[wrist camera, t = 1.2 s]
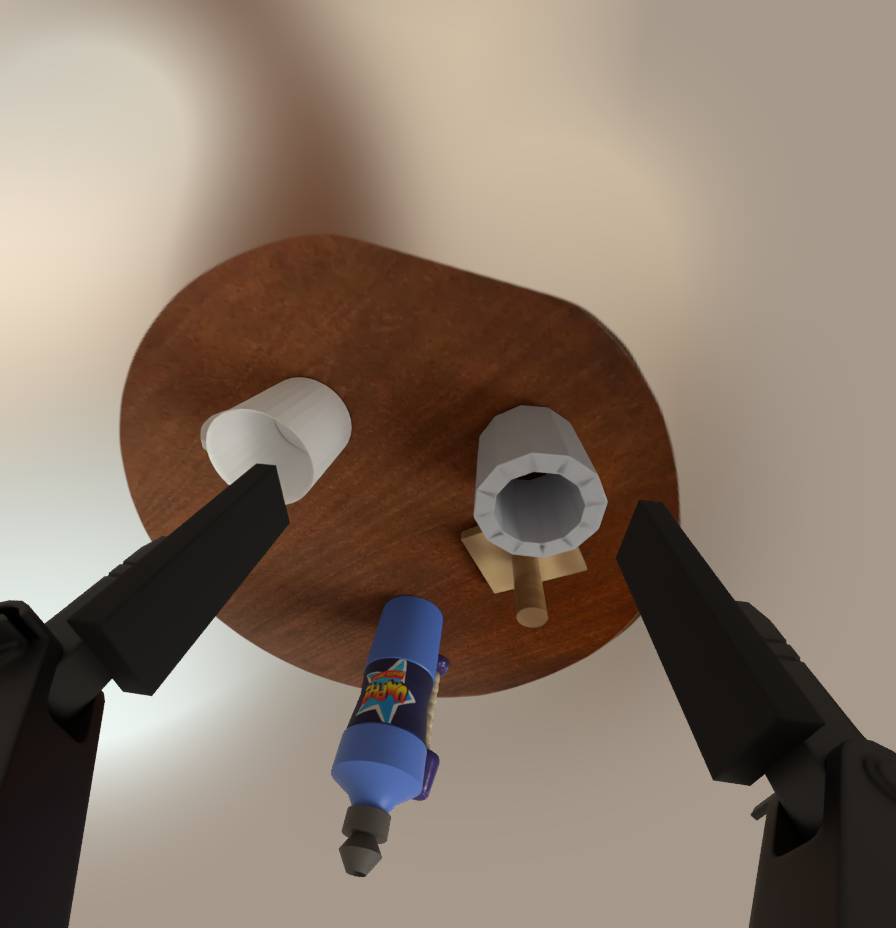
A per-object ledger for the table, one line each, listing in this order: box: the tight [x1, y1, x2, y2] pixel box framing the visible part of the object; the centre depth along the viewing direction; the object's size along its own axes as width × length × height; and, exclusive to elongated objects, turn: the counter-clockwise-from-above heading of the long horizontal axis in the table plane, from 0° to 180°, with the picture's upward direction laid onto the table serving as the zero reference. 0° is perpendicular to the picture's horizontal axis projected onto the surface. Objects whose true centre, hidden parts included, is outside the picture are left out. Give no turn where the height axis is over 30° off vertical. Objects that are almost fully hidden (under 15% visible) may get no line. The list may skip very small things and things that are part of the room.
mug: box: [201, 377, 352, 505], centre depth 32 cm, size 12×9×9 cm
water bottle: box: [331, 596, 443, 877], centre depth 40 cm, size 9×9×25 cm
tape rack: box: [461, 526, 587, 627], centre depth 37 cm, size 12×10×10 cm
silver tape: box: [474, 405, 608, 558], centre depth 31 cm, size 10×10×10 cm
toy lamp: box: [412, 655, 449, 801], centre depth 48 cm, size 5×5×17 cm
